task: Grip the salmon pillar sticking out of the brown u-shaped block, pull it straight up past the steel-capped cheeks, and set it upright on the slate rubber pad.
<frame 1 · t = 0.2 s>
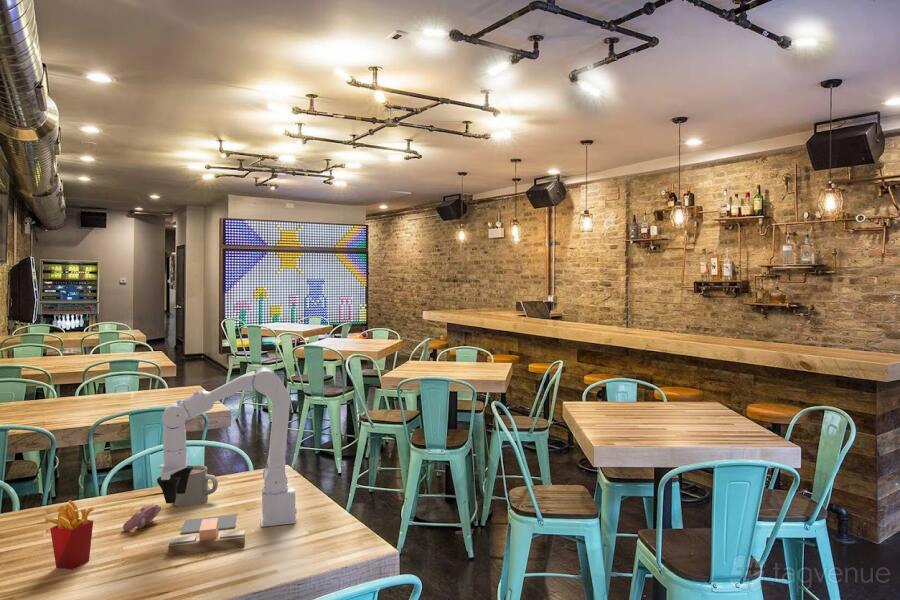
hand: (175, 498, 166), 10 cm above the table, tool pointing down, fingers open, 7 cm apart
brown u-shaped block: (208, 546, 158), on the table
coffee mug: (195, 502, 192), on the table
salmon pillar: (209, 542, 161), on the table
slate pad: (209, 524, 173), on the table
french fries: (66, 566, 147), on the table
video game controller: (143, 526, 172), on the table
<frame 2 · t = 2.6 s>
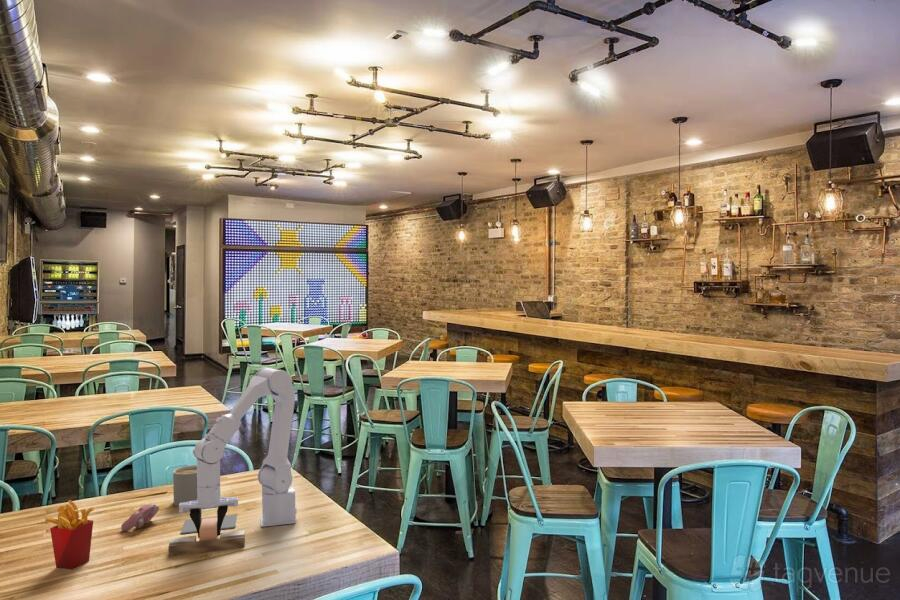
hand: (209, 535, 161), 1 cm above the table, tool pointing down, fingers closed on salmon pillar, 4 cm apart
salmon pillar: (209, 542, 161), on the table, touching gripper
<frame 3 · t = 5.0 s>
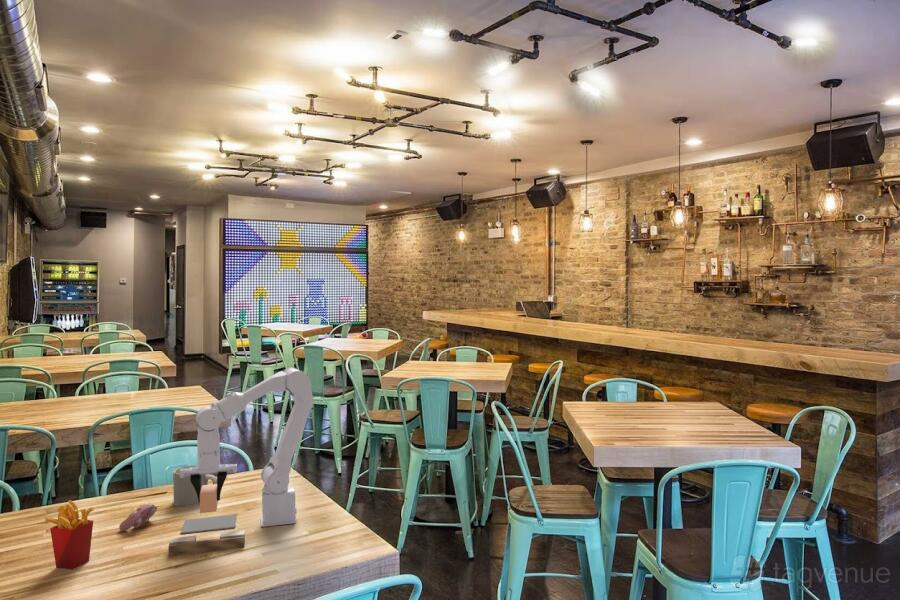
hand: (209, 500, 167), 9 cm above the table, tool pointing down, fingers closed on salmon pillar, 4 cm apart
salmon pillar: (209, 507, 166), point 7 cm above the table, touching gripper
when the fingers open (3 cm above the table, at t = 7.5 s): salmon pillar stays where it is, resting on slate pad.
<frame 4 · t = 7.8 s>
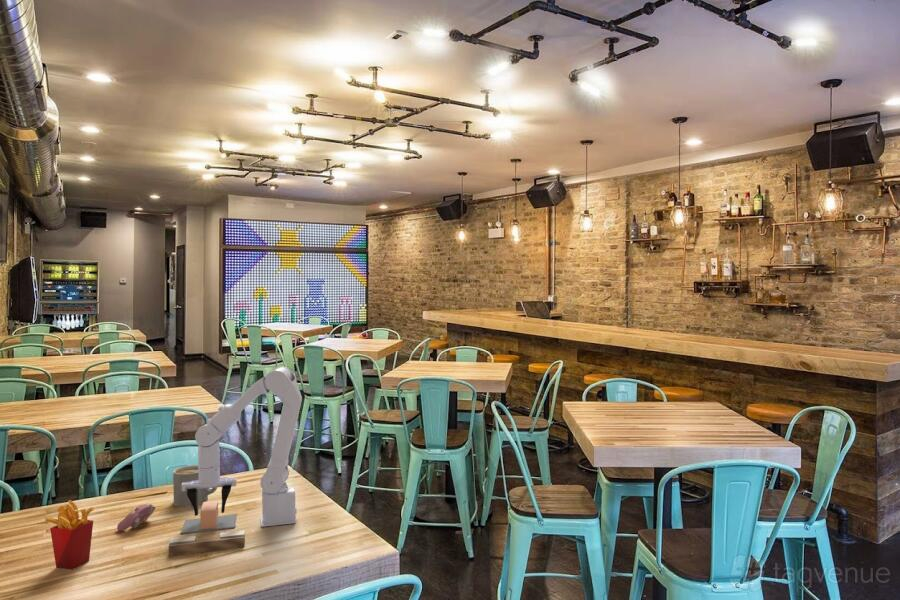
hand: (209, 513, 174), 3 cm above the table, tool pointing down, fingers open, 6 cm apart
salmon pillar: (209, 523, 173), resting on slate pad
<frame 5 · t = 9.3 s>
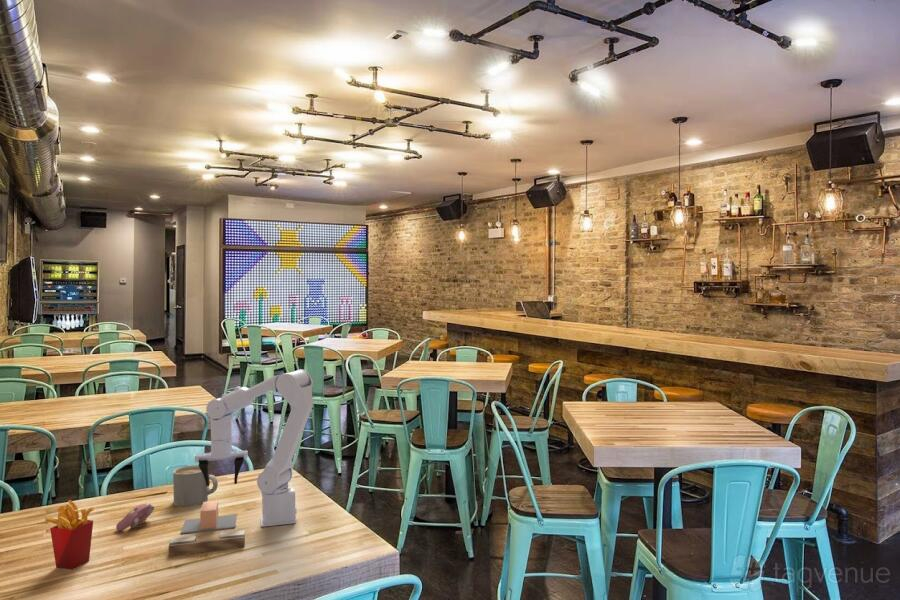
hand: (221, 484, 179), 9 cm above the table, tool pointing down, fingers open, 7 cm apart
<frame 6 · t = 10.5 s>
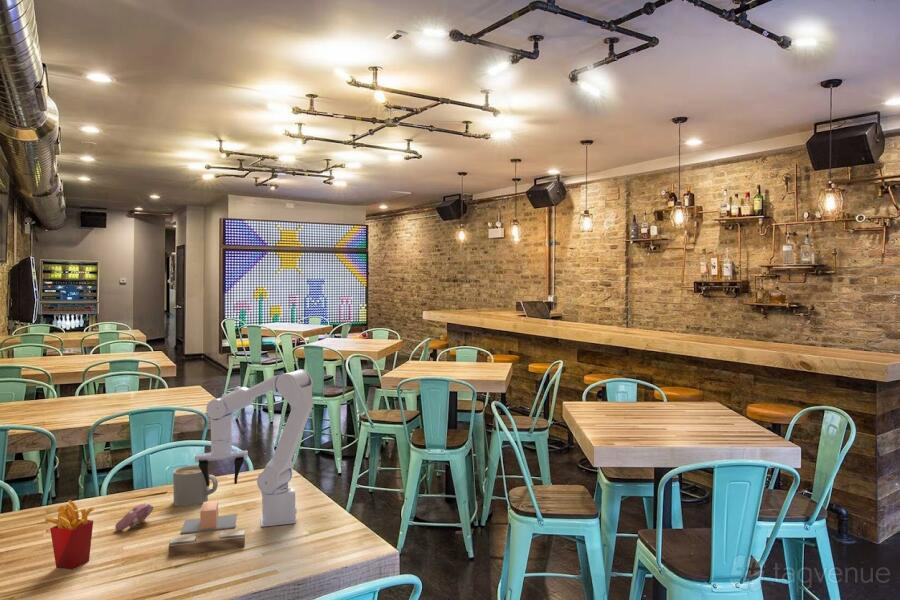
hand: (221, 484, 179), 9 cm above the table, tool pointing down, fingers open, 7 cm apart
at the end: salmon pillar inside the target area on the slate pad (0.2 cm from its centre), point 0.4 cm above the slate pad's base; salmon pillar tilted 0°; salmon pillar touching slate pad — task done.
